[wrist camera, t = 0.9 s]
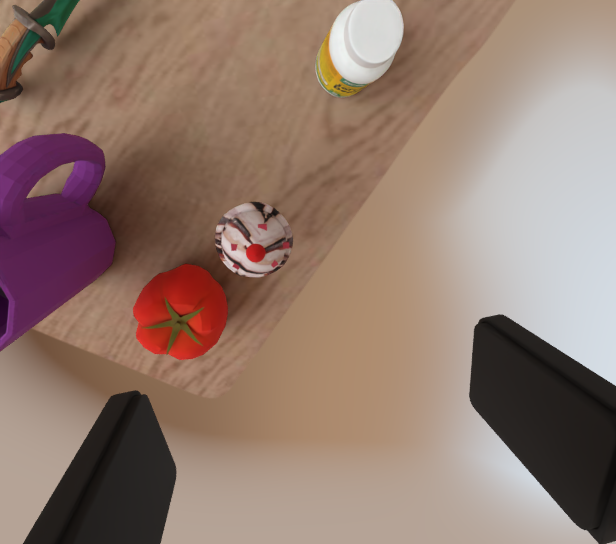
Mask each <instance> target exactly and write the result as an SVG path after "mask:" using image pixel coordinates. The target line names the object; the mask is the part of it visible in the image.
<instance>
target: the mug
mask: <svg viewBox="0 0 616 544" xmlns="http://www.w3.org/2000/svg"><path fill="white" fill-rule="evenodd" d="M71 162H75V164H74V168H73V172H72V173H71V175H70V176H69V178H68V179H67V181H66V183H65V186H64V188H63V191H62V193H61V194H51V195H45V196H39V197H33V198H26V197H27V195H28V194H29V192H30V191H31V189H32V188H33V187H34V186H35V184H36V183H37V182H38V181H39V179H41V178H42V177H43V176H45V175H46V174H47V173H49V172H50V171H52V170H53V169H55V168H57V167H58V166H60V165H62V164H66V163H71ZM104 171H105V158H104V154H103V151H102V150H101V149H100V148H99V147H98V146H96V145H95V144H93V143H92V142H90V141H89V140H87V139H85V138H82V137H80V136H76V135H70V134H65V133H62V134H50V135H38V136H32V137H30V138H27V139H25V140H22V141H20V142H17V143H16V144H15V145H13V146H12V147H10V148H9V149H8V150H6V151H5V152H4V153H2V154H1V155H0V351H2V350H3V349H4V348H6V347H7V346H8V345H10V344H11V343H12V342H14V341H15V340H16V339H18V338H19V337H20V336H22V335H23V334H24V333H25V332H27V331H28V330H29V329H31V328H32V327H34V326H35V325H36V324H38V323H39V322H40V321H42V320H43V319H44V318H45V317H47V316H48V315H49V314H51V313H52V312H53V311H55V310H56V309H57V308H59V307H60V306H61V305H63V304H64V303H65V302H67V301H68V300H69V299H71V298H72V297H73V296H75V295H76V294H77V293H79V292H80V291H81V290H83V289H84V288H85V287H87V286H88V285H89V284H91V283H92V282H93V281H95V280H96V279H97V278H98V277H99V276H100V275H101V274H102V273H103V272H104V271H105V270H106V269H107V268H108V267H109V266H110V265H111V264H112V261H113V256H114V250H115V244H116V241H115V239H114V236H113V234H112V232H111V229H110V227H109V224H108V222H107V220H106V219H105V218H104V217H103V216H102V215H101V214H99V213H98V212H96V211H94V210H93V209H91V208H89V206H88V203H89V202H90V200H91V199H92V197H93V196H94V195H95V193H96V191H97V189H98V187H99V185H100V183H101V181H102V177H103V174H104Z"/></svg>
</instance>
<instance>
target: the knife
mask: <svg viewBox="0 0 616 544" xmlns="http://www.w3.org/2000/svg"><path fill="white" fill-rule="evenodd" d="M78 2H79V0H44V1H43V2H42V3H41V4H40V5H38V6H37V7H36V8H35V9H34V10H33V11H32V12H31V13H30V14H29V13H27V12H26V11H25V10H24V9H22V8H20V7H18V6H16V5H13V9H14V16H15V19H14V20H13V21H12V23H11V24H10V25H9V27H8V28H7V29H6V31H5V32H4V33H3V35H2V36H1V38H0V103H1V102H4V101H7V100H11V99H14V98H16V97H17V96H19V95H20V94H21V92H22V91H23V87H22V85H21V84H20V83H18V82H17V81H16V80H17V79H18V78H19V77H20V76H21V75H22V72H21V68H22V67H23V65H24V64H25V63H26V62H27V61H28V60H30V59H31V58H32V57H33V55H32V53H31V52H30V51H31V50H32V49H33V48H34V47H35V45H36V44H38V43H40V44H41V45H42V46H43V47H44V48H46V49H48V50H53V49H54V47H55V39H54V38H53V36H52V35H51V34H50V33H49V32H48V31H47V30H46V29H45V28H44V27H45V26H46V25H48V24H51V25H53V26H54V28H55V30H56V33H57V36H58V35H59V34H60V32H61V30H62V28H63V26H64V24H65V23H66V21H67V19H68V18H69V16H70V14H71V12H72V11H73V9H74V8H75V6H76V5H77V3H78Z"/></svg>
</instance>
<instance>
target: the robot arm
mask: <svg viewBox="0 0 616 544" xmlns="http://www.w3.org/2000/svg"><path fill="white" fill-rule="evenodd" d="M469 397H470V401H471V404H472V405H473V407H474V408H475V410H476V411H477V412H478V413H479V414H480V415H481V416H482V418H483V419H484V420H485V421H486V422H487V424H488V425H489V426H490V427H491V428H492V429H493V430H494V432H496V434H497V435H498V436H499V437H500V438H501V439H502V441H503V442H504V443H505V444H506V445H507V446H508V447H509V449H510V450H511V451H512V452H513V453H514V454H515V456H516V457H517V458H518V459H519V460H520V461H521V462H522V464H523V465H524V466H525V467H526V468H527V469H528V470H529V472H530V473H531V474H532V475H533V476H534V477H535V478H536V480H537V481H538V482H539V483H540V484H541V485H542V487H543V488H544V489H545V490H546V491H547V492H548V493H549V495H551V497H552V498H553V499H554V500H555V501H556V502H557V504H558V505H559V506H560V507H561V508H562V509H563V511H564V512H565V513H566V514H567V515H568V516H569V517H570V519H571V520H572V521H573V522H574V523H575V524H576V525H577V526H579V527H580V528H581V529H584V530H587V531H588V532H589V533H590V534H591V535H592V536H593V538H594V539H595V540H596V541H597V542H598V543H599V544H607V543H610V542H613V541H616V386H615V385H613V384H612V383H610V382H608V381H607V380H605V379H604V378H602V377H601V376H599V375H597V374H596V373H594V372H593V371H591V370H589V369H588V368H586V367H585V366H583V365H582V364H580V363H579V362H577V361H575V360H574V359H572V358H571V357H569V356H567V355H566V354H564V353H563V352H561V351H560V350H558V349H557V348H555V347H553V346H552V345H550V344H549V343H547V342H546V341H544V340H542V339H541V338H539V337H538V336H536V335H534V334H533V333H531V332H530V331H528V330H526V329H525V328H523V327H522V326H520V325H519V324H517V323H516V322H514V321H513V320H511V319H509V318H507V317H506V316H504V315H495V316H490V317H485V318H482V319H480V320H479V322H478V324H477V325H476V326H475V329H474V339H473V353H472V366H471V380H470V393H469ZM175 480H176V466H175V463H174V461H173V458H172V455H171V453H170V451H169V448H168V445H167V443H166V440H165V438H164V435H163V433H162V431H161V428H160V426H159V423H158V421H157V418H156V416H155V413H154V411H153V408H152V406H151V403H150V401H149V398H148V397H147V395H145V394H143V395H141V394H140V392H139V391H130V392H125V393H121V394H116V395H113V396H111V397H110V399H109V400H108V402H107V403H106V405H105V407H104V408H103V410H102V412H101V414H100V415H99V417H98V419H97V420H96V422H95V424H94V425H93V427H92V429H91V430H90V432H89V434H88V435H87V437H86V439H85V440H84V442H83V444H82V445H81V447H80V449H79V450H78V452H77V454H76V455H75V457H74V459H73V460H72V462H71V464H70V466H69V467H68V469H67V471H66V472H65V474H64V476H63V477H62V479H61V481H60V483H59V484H58V486H57V487H56V489H55V491H54V492H53V494H52V496H51V497H50V499H49V501H48V503H47V504H46V506H45V507H44V509H43V511H42V512H41V514H40V516H39V518H38V519H37V521H36V522H35V524H34V526H33V528H32V529H31V531H30V533H29V534H28V536H27V538H26V539H25V541H24V543H23V544H160V543H161V539H162V534H163V531H164V526H165V522H166V518H167V514H168V510H169V505H170V502H171V498H172V494H173V489H174V485H175Z"/></svg>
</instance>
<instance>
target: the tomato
mask: <svg viewBox="0 0 616 544" xmlns="http://www.w3.org/2000/svg"><path fill="white" fill-rule="evenodd" d="M133 313H134V316H135V318H136V319H137V321H138V322H139V324H138V328H137V332H136V337H137V339H138V340H139V342H140V343H141V344H142V345H143V347H144V348H146V349H148V350H149V351H151V352H152V353H154V354H169V355H171V356H173V357H175V358H177V359H179V360H184V359H193V358H196V357H198V356H201V355H203V354H205V353H206V352H207V351H208V350H209V349H210V348H212V347H213V346H214V345H215V344H216V343H217V342H218V340H219V338H220V336H221V334H222V332H223V330H224V328H225V325H226V320H227V315H228V306H227V301H226V295H225V293H224V291H223V289H222V287H221V285H220V284H219V283H218V282H217V281H216V280H214V279H213V278H212V276H211V275H210V273H209V272H208V271H206V270H205V269H203V268H201V267H200V266H195V265H190V264H184V265H182V266H179V267H177V268H175V269H173V270H170V271H168V272H164V273H159V274H158V275H157V276H155V277H154V278H153V279H152V280H151V281H150V282H149V283H148V284H147V285H146V286H145V287H144V288H143V290H142V291H141V293H140V295H139V297H138V299H137V301H136V303H135V306H134V308H133Z"/></svg>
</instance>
